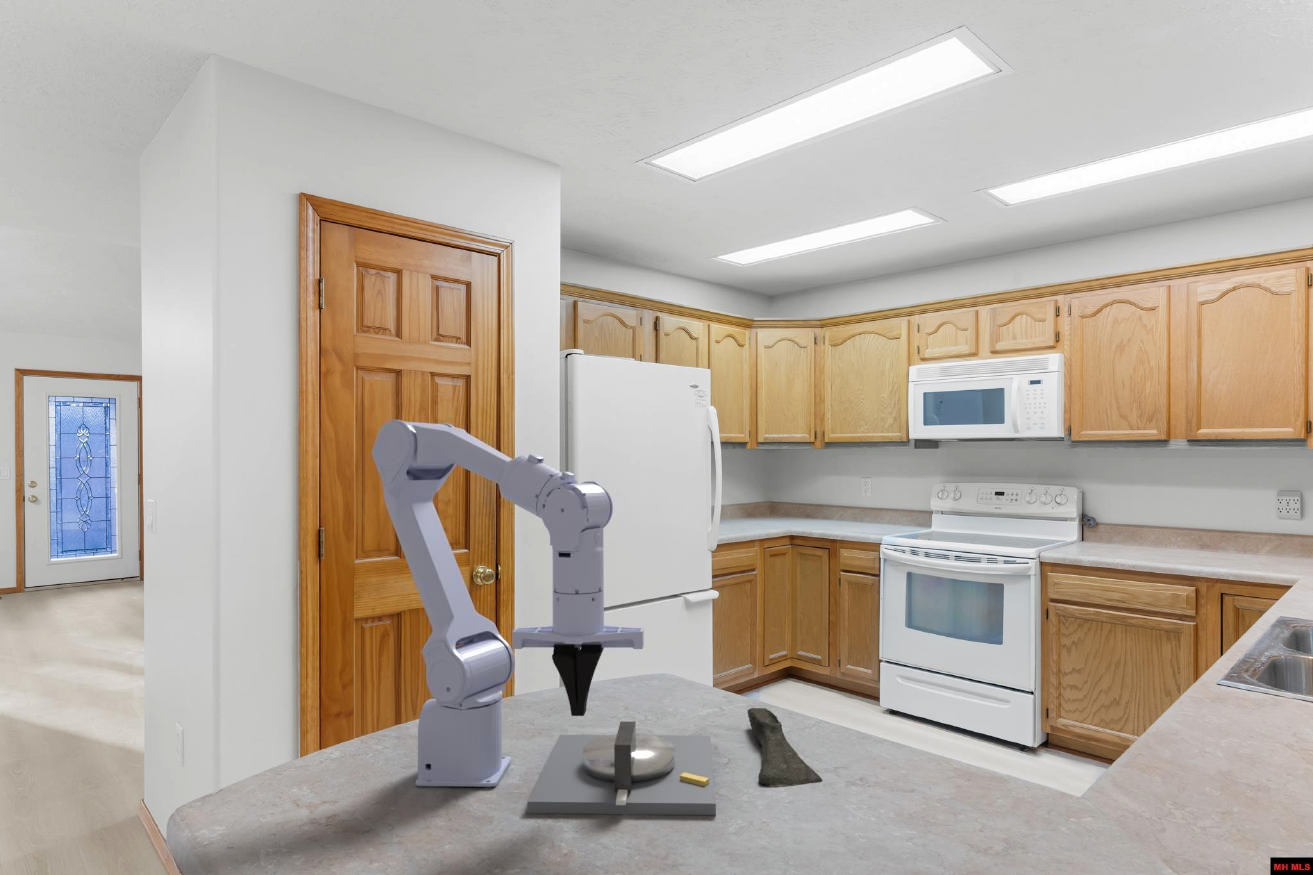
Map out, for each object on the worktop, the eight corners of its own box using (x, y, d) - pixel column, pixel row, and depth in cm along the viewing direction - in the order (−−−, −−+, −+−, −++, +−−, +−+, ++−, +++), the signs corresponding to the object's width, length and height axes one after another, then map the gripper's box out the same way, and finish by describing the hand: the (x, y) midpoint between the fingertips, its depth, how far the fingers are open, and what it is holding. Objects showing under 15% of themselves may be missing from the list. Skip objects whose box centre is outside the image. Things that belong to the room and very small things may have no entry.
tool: (825, 798, 86) (827, 772, 86) (760, 796, 85) (762, 770, 85) (778, 719, 107) (780, 698, 107) (725, 717, 106) (727, 696, 106)
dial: (588, 745, 95) (588, 705, 95) (675, 745, 94) (675, 705, 95) (572, 790, 81) (572, 744, 82) (673, 791, 81) (672, 745, 81)
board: (526, 815, 79) (526, 799, 79) (559, 743, 99) (559, 730, 99) (716, 817, 78) (715, 801, 78) (710, 744, 99) (710, 731, 99)
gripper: (505, 596, 80) (505, 724, 79) (640, 596, 79) (641, 725, 79) (520, 586, 87) (520, 704, 86) (644, 585, 86) (645, 704, 86)
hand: (578, 713), depth 83 cm, fingers closed
